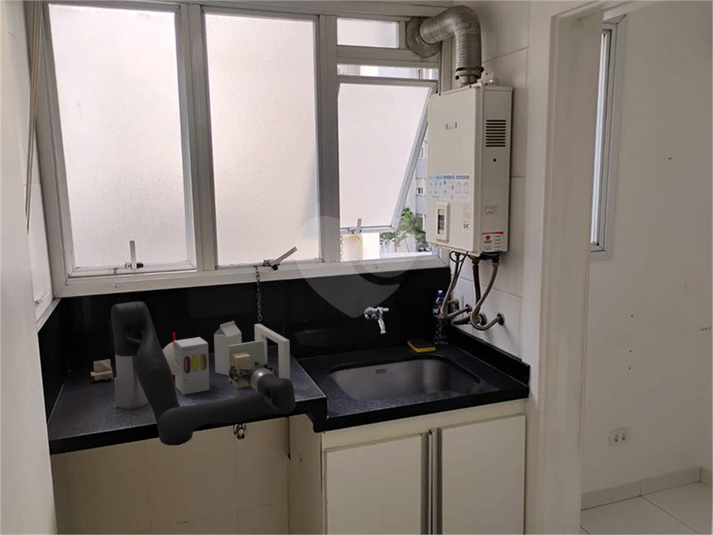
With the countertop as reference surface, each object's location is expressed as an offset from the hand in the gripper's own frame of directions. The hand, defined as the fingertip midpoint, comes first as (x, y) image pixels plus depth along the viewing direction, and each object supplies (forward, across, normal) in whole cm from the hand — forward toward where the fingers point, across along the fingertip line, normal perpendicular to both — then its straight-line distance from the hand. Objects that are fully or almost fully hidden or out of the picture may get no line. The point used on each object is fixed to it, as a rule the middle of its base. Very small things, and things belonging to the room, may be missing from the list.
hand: (244, 366), depth 197 cm
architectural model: (+33, -41, -8) cm, 53 cm away
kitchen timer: (+27, -17, -7) cm, 32 cm away
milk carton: (+17, 0, -7) cm, 19 cm away
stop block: (+2, 0, -7) cm, 7 cm away
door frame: (0, +10, -7) cm, 13 cm away
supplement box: (+7, -16, -7) cm, 19 cm away
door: (+7, +4, -7) cm, 10 cm away
